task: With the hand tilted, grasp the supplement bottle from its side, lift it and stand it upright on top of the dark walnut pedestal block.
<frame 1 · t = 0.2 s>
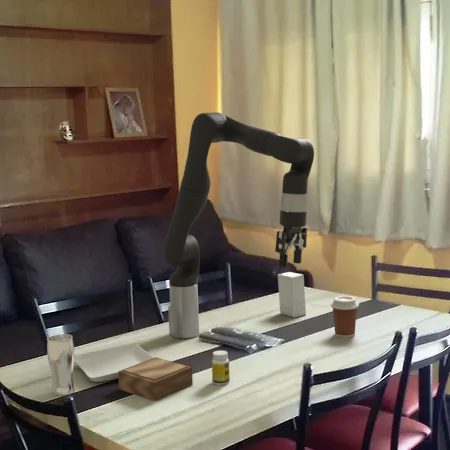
hand: (290, 265, 211), 29 cm above the table, tool pointing down, fingers open, 8 cm apart
salad plate: (115, 370, 214), on the table
skincare box: (292, 314, 265), on the table
pedestal: (156, 387, 198), on the table
beer glass: (63, 392, 197), on the table
supplement bottle: (221, 383, 201), on the table
coffee cup: (344, 335, 239), on the table
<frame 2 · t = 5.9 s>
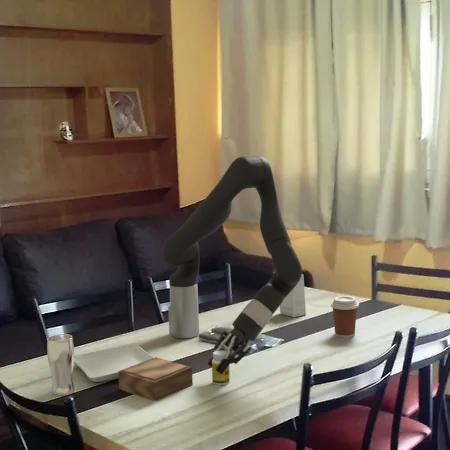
hand: (214, 368, 199), 4 cm above the table, tool tilted 45°, fingers closed on supplement bottle, 4 cm apart
supplement bottle: (221, 382, 201), on the table, touching gripper
everything else where it was.
when the fingers open (10 cm above the table, at t = 10.6 s): supplement bottle stays where it is, resting on pedestal.
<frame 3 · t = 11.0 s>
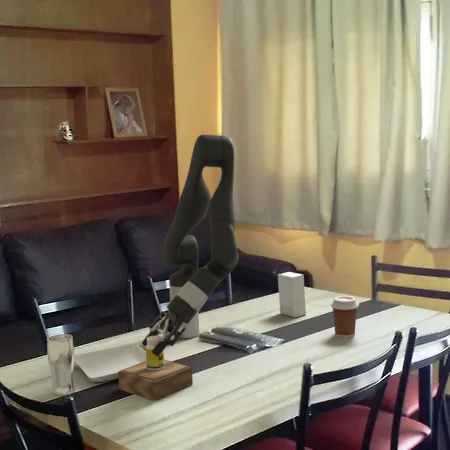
hand: (149, 350, 196), 11 cm above the table, tool tilted 45°, fingers open, 8 cm apart
supplement bottle: (155, 368, 198), point 5 cm above the table, touching pedestal
everything else where it was.
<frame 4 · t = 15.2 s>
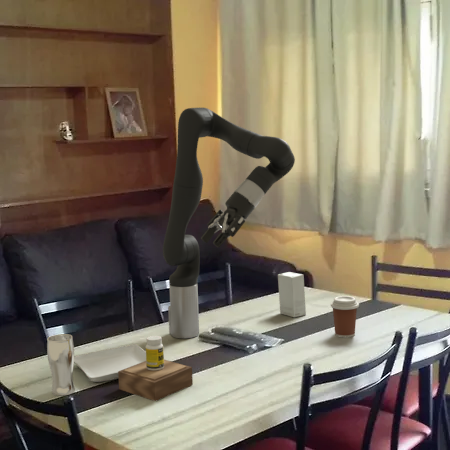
hand: (209, 243, 206), 37 cm above the table, tool tilted 45°, fingers open, 8 cm apart
nothing on the table moved.
at the end: supplement bottle inside the target area on the pedestal (0.2 cm from its centre), point 5.1 cm above the pedestal's base; supplement bottle tilted 0°; the gripper is holding nothing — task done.
